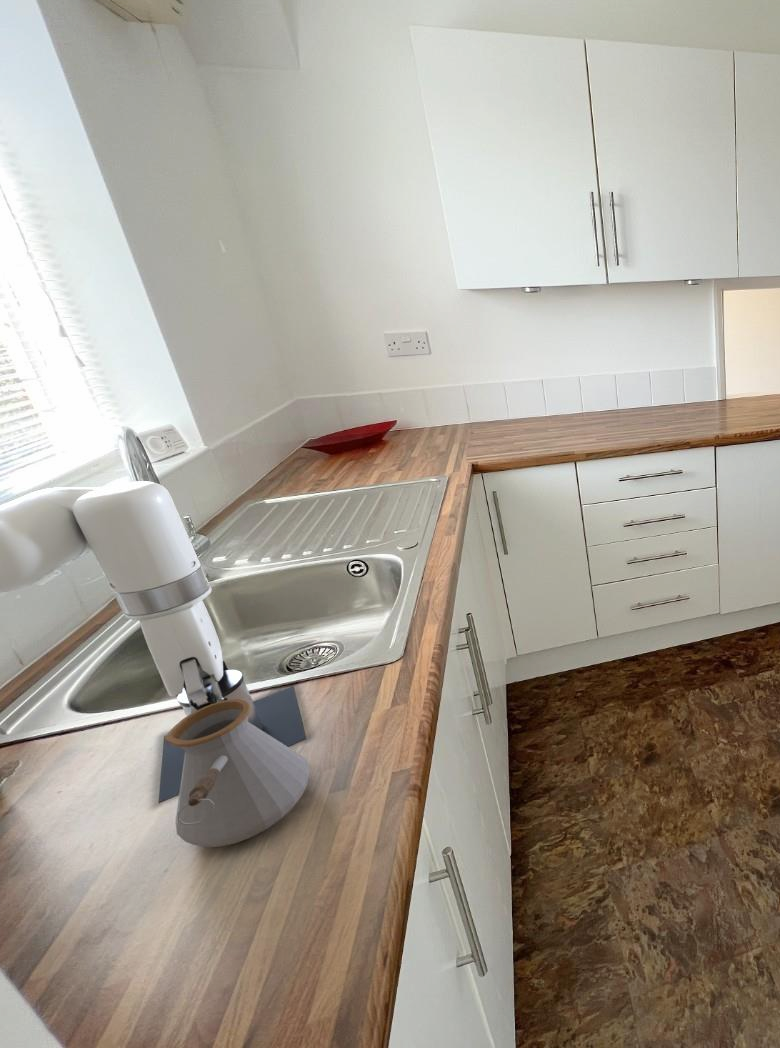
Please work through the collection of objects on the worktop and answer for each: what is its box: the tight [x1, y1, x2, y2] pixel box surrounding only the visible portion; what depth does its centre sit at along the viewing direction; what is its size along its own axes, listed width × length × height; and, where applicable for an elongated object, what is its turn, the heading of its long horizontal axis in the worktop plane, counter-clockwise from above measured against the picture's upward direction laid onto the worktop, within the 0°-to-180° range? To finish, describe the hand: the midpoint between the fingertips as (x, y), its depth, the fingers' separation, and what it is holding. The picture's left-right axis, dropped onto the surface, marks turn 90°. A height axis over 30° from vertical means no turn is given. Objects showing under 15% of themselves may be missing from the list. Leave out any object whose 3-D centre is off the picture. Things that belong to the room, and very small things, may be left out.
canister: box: [176, 669, 263, 730], centre depth 72 cm, size 6×6×8 cm
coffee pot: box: [163, 699, 311, 848], centre depth 57 cm, size 21×12×15 cm, turn 37°
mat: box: [158, 685, 307, 804], centre depth 74 cm, size 14×14×1 cm
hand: (220, 711), depth 72 cm, fingers open, 9 cm apart
